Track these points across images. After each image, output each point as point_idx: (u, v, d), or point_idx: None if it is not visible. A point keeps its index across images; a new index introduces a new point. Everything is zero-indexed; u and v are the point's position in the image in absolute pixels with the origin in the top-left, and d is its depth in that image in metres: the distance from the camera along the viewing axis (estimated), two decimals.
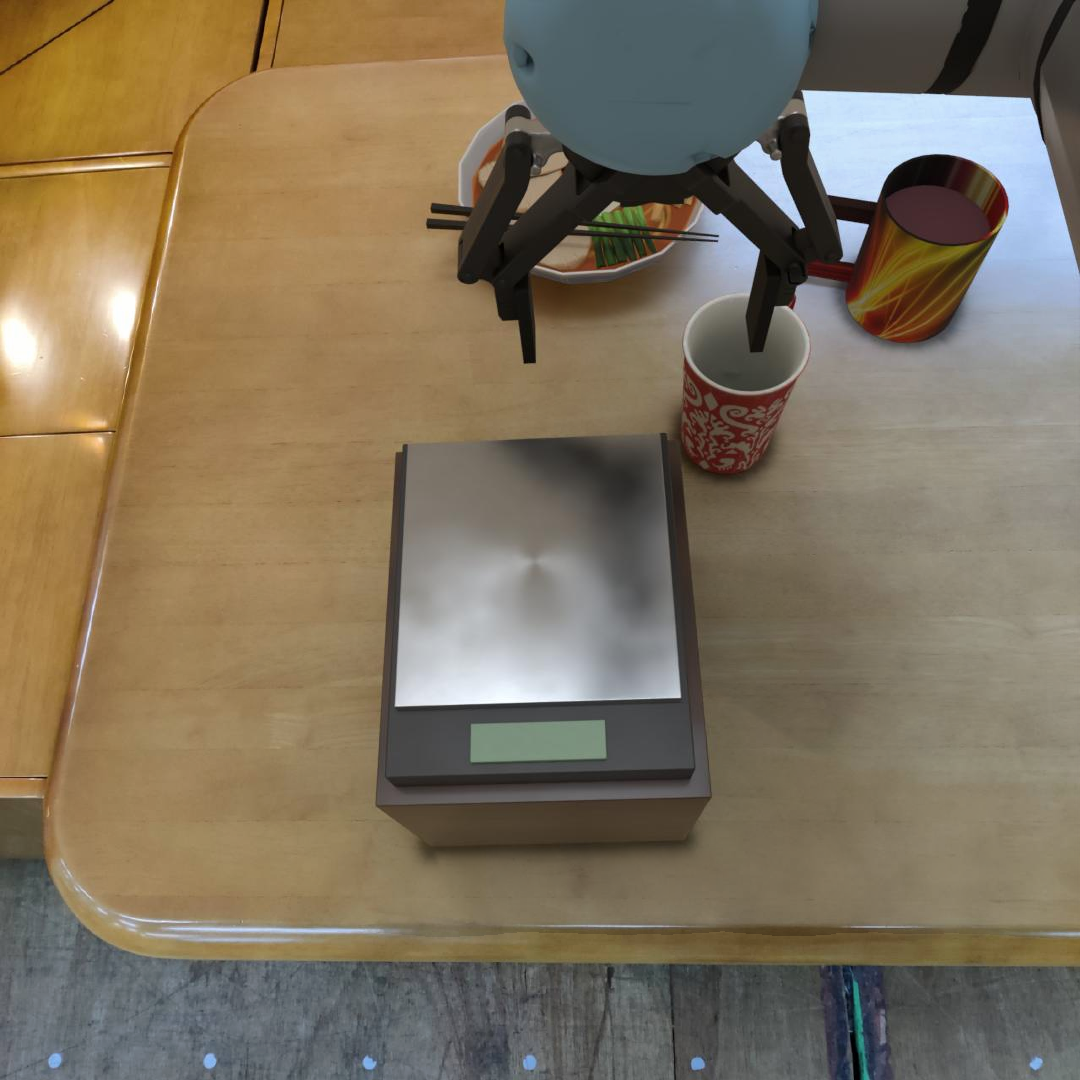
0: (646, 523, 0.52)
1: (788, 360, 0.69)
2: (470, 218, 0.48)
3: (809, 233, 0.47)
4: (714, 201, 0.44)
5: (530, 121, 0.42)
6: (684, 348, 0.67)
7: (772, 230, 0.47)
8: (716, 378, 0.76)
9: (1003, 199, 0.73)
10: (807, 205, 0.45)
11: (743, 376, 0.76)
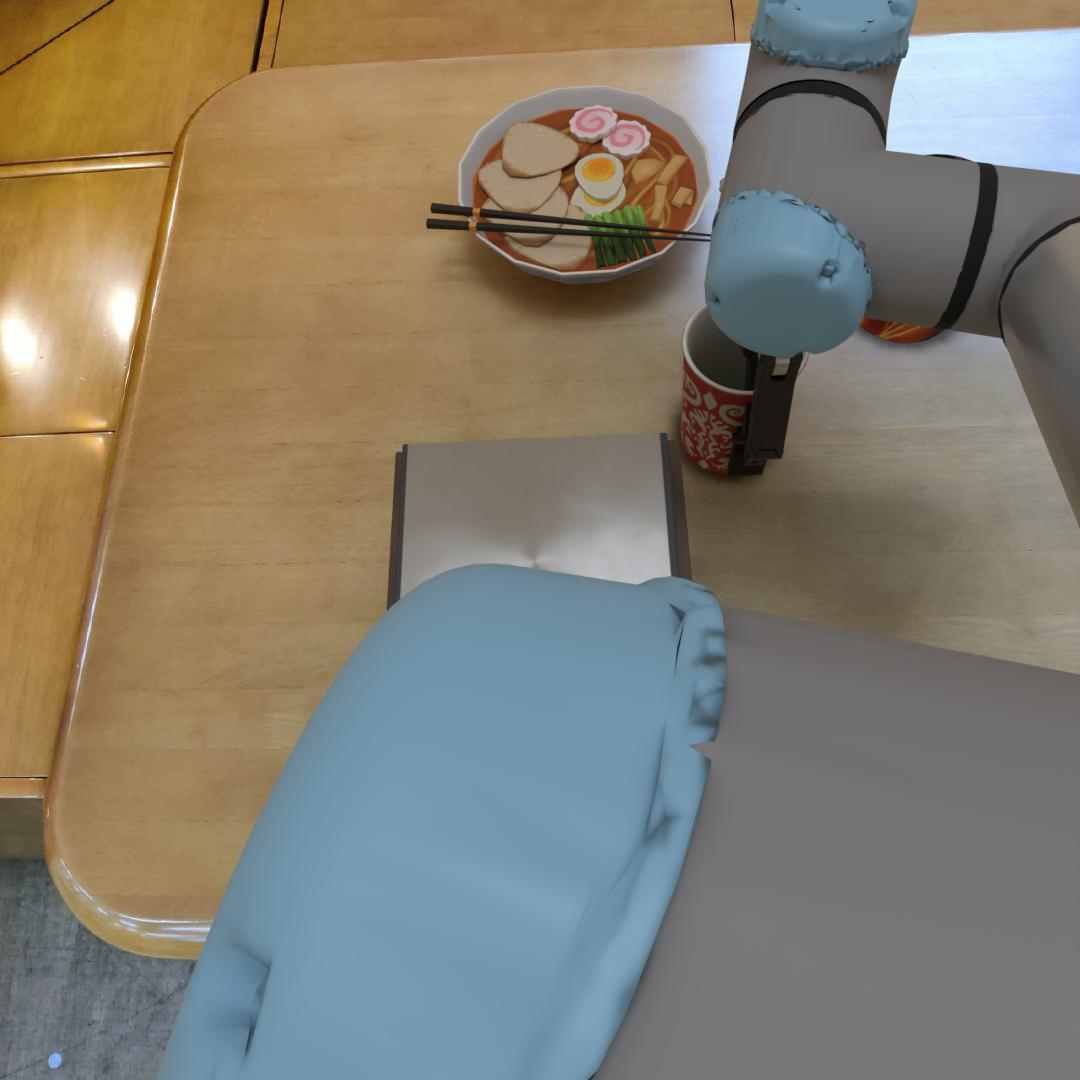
0: (646, 523, 0.52)
1: None
2: (755, 436, 0.65)
3: None
4: None
5: None
6: (683, 347, 0.67)
7: None
8: (716, 378, 0.76)
9: None
10: None
11: (743, 376, 0.76)
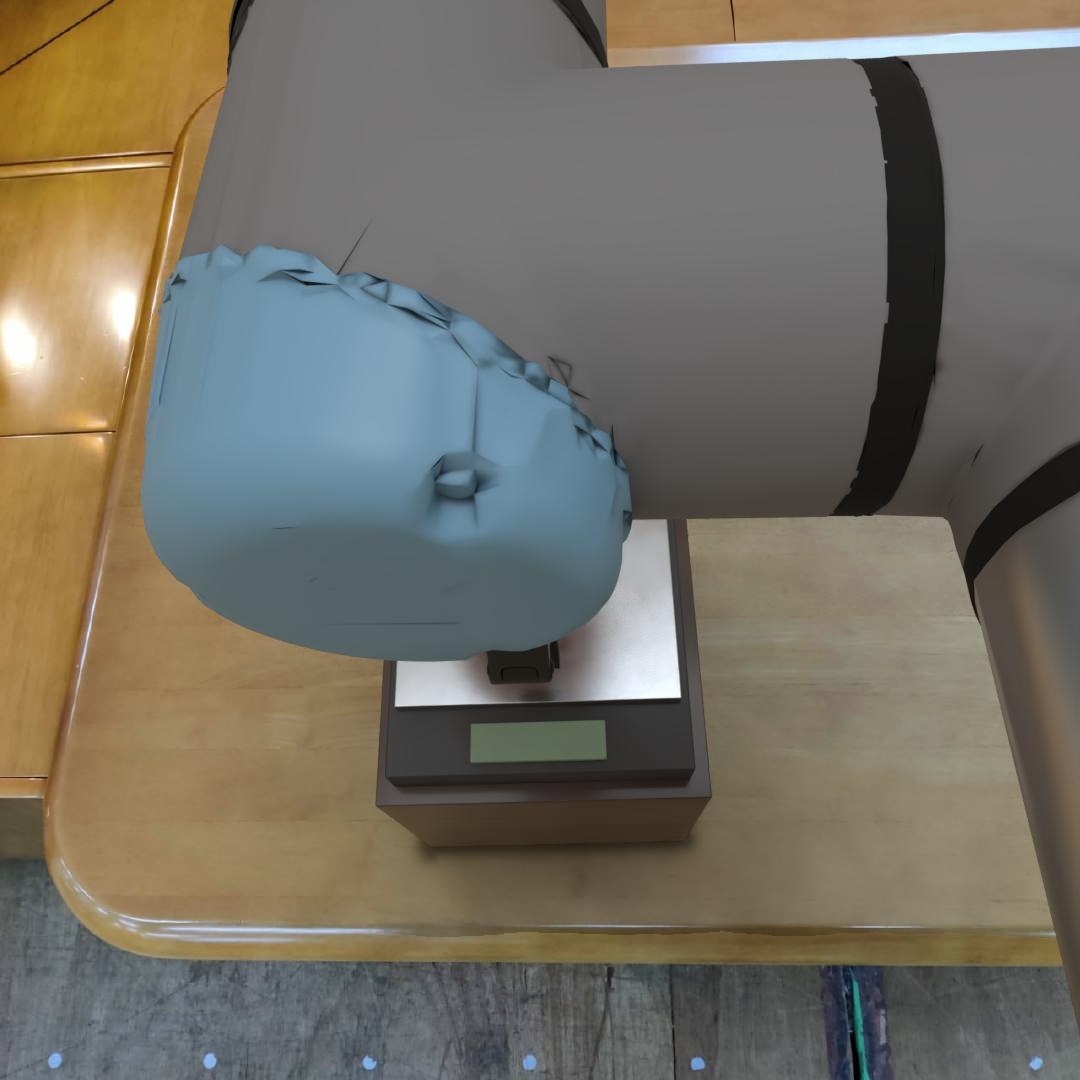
0: (646, 523, 0.52)
1: None
2: None
3: None
4: None
5: None
6: None
7: None
8: None
9: None
10: None
11: None
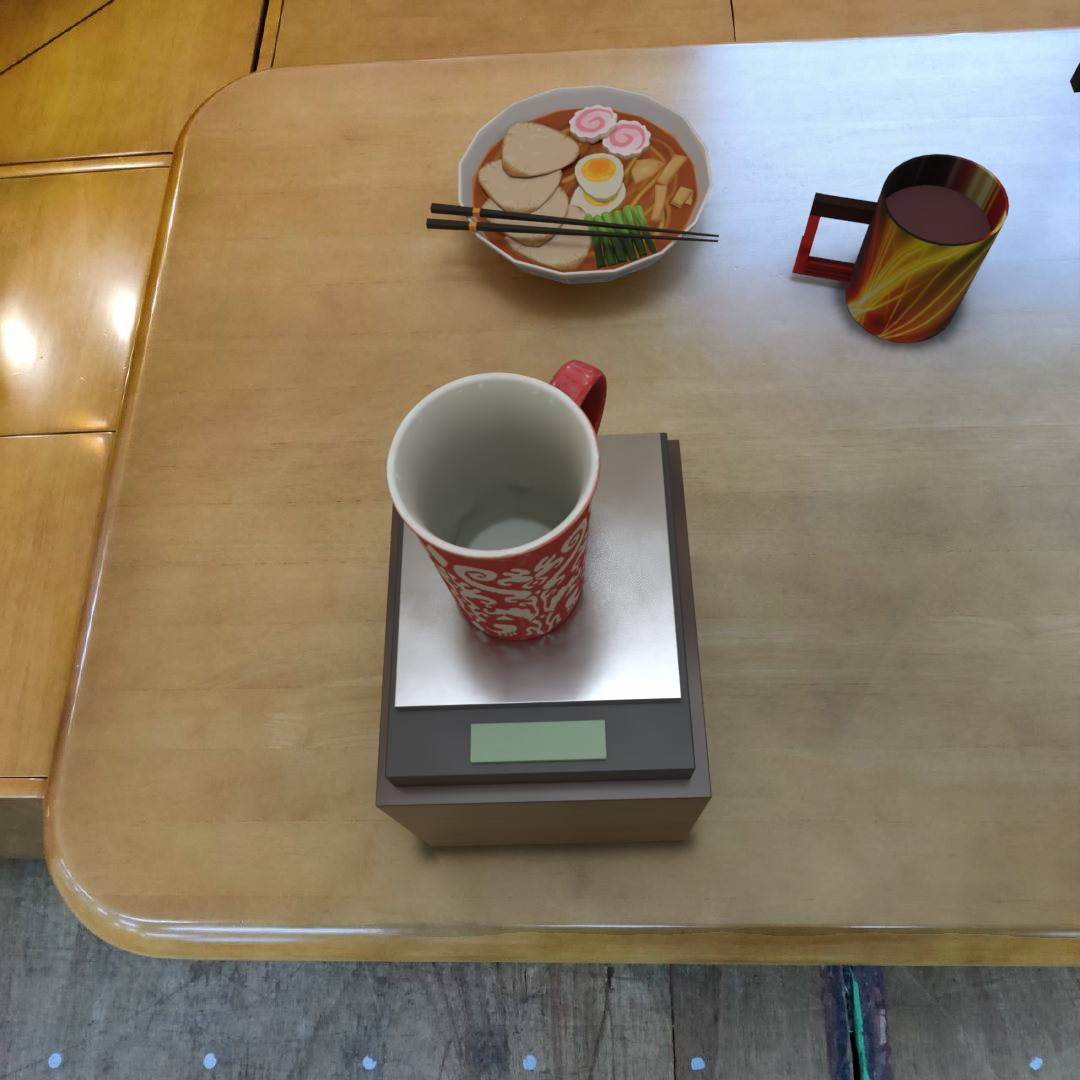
0: (646, 523, 0.52)
1: (579, 484, 0.42)
2: None
3: None
4: None
5: None
6: (387, 468, 0.39)
7: None
8: (498, 492, 0.49)
9: (1003, 199, 0.73)
10: None
11: (538, 491, 0.48)
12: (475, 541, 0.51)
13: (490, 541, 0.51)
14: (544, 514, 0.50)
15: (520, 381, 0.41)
